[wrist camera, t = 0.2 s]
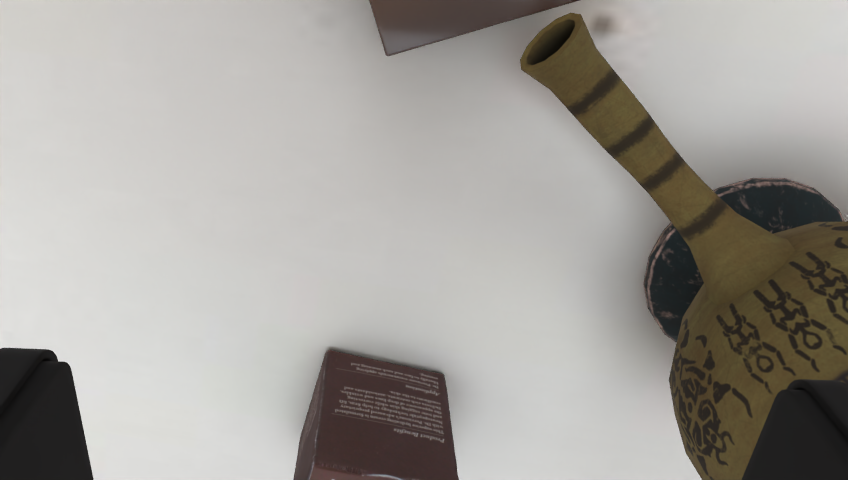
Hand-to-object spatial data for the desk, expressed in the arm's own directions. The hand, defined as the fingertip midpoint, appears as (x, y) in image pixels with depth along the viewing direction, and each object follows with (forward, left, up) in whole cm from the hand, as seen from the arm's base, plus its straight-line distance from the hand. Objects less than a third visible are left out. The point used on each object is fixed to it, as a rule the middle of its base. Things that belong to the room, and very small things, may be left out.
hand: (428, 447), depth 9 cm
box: (+16, -1, -19) cm, 25 cm away
